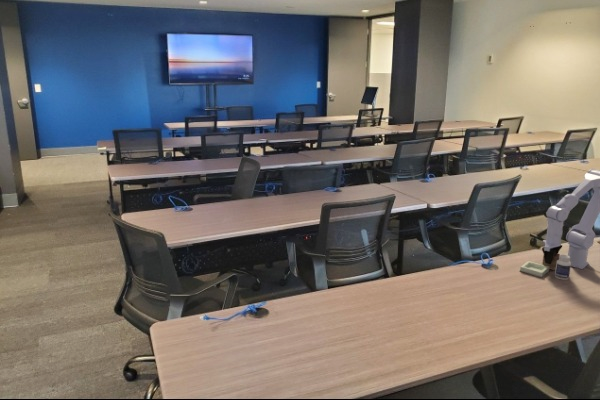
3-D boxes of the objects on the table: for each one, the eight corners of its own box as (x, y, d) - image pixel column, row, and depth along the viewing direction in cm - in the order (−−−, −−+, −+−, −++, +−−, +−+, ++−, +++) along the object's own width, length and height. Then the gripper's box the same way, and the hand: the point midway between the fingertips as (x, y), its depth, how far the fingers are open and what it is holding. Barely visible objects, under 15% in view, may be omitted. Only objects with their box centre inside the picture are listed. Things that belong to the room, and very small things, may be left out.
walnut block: (546, 263, 207) (547, 251, 206) (558, 266, 204) (559, 254, 202) (542, 266, 204) (543, 254, 202) (554, 269, 201) (555, 257, 199)
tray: (527, 265, 208) (528, 260, 207) (548, 271, 202) (549, 266, 201) (519, 271, 202) (520, 266, 201) (541, 277, 196) (542, 272, 195)
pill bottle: (570, 280, 192) (574, 259, 190) (556, 279, 193) (560, 258, 191) (566, 275, 197) (569, 254, 195) (552, 274, 199) (555, 253, 196)
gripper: (550, 227, 207) (546, 254, 211) (538, 235, 198) (534, 263, 201) (567, 230, 202) (563, 258, 206) (556, 239, 193) (551, 268, 196)
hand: (550, 261), depth 203 cm, fingers closed on walnut block, 5 cm apart
